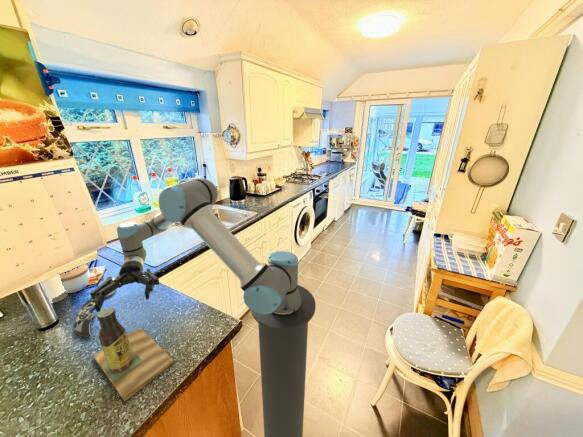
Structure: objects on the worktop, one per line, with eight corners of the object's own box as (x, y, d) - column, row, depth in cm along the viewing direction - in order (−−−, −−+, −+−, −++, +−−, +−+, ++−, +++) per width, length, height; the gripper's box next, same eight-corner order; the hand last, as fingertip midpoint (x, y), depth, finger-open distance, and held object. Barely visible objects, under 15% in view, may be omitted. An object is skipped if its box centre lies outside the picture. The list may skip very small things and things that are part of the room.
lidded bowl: (78, 297, 102) (69, 275, 98) (49, 296, 102) (39, 275, 98) (100, 279, 114) (93, 260, 110) (74, 279, 114) (66, 259, 110)
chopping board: (173, 362, 75) (172, 358, 74) (124, 402, 64) (123, 397, 63) (140, 330, 86) (139, 326, 86) (94, 358, 75) (93, 355, 75)
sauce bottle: (126, 373, 69) (108, 322, 62) (104, 374, 69) (83, 322, 62) (138, 353, 75) (123, 304, 68) (118, 354, 75) (101, 305, 68)
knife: (91, 334, 83) (55, 340, 80) (92, 338, 83) (57, 344, 80) (119, 286, 108) (93, 289, 105) (119, 289, 108) (93, 292, 105)
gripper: (168, 269, 101) (167, 300, 83) (96, 284, 91) (78, 323, 73) (165, 254, 98) (163, 282, 80) (90, 268, 88) (70, 304, 70)
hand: (122, 302), depth 76 cm, fingers open, 13 cm apart
